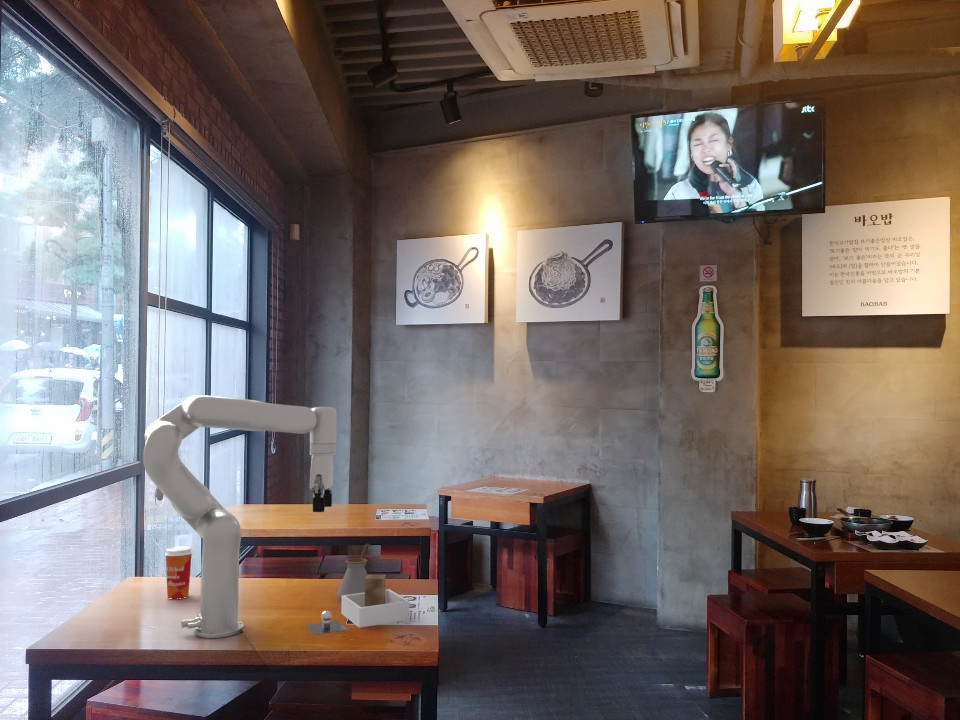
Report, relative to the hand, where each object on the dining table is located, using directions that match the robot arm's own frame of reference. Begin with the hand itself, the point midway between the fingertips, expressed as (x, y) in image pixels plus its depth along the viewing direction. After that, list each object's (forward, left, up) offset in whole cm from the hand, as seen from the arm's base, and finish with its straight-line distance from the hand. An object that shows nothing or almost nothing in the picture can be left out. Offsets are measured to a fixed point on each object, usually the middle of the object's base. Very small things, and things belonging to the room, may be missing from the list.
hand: (322, 509), depth 214 cm
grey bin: (+12, -11, -30) cm, 34 cm away
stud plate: (-3, -14, -30) cm, 34 cm away
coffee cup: (-33, +41, -31) cm, 61 cm away
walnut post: (+12, -11, -29) cm, 34 cm away
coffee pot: (+16, +12, -31) cm, 36 cm away
